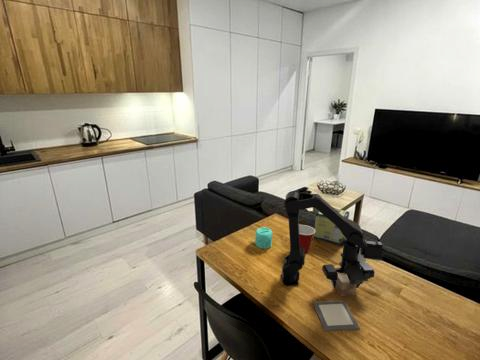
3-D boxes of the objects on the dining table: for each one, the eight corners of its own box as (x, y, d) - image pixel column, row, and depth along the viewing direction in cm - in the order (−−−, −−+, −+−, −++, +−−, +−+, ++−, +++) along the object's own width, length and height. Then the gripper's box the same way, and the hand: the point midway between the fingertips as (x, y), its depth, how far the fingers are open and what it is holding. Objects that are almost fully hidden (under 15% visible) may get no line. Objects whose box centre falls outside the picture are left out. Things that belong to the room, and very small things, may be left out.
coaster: (324, 331, 87) (324, 329, 87) (313, 303, 98) (313, 302, 98) (359, 329, 87) (359, 327, 87) (344, 301, 99) (344, 300, 99)
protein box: (318, 230, 150) (320, 205, 145) (346, 237, 142) (350, 211, 137) (313, 238, 141) (315, 212, 136) (343, 246, 134) (346, 219, 129)
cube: (341, 295, 102) (342, 284, 100) (335, 285, 107) (337, 274, 105) (354, 295, 102) (356, 283, 100) (348, 285, 107) (350, 274, 106)
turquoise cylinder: (255, 247, 133) (255, 234, 131) (257, 239, 141) (257, 226, 138) (270, 249, 132) (271, 235, 129) (272, 241, 139) (272, 228, 136)
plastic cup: (316, 247, 133) (318, 226, 129) (309, 258, 124) (311, 236, 121) (296, 241, 139) (297, 221, 135) (288, 251, 130) (289, 230, 126)
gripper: (334, 269, 91) (330, 304, 96) (386, 267, 92) (379, 302, 97) (323, 251, 102) (319, 283, 107) (369, 249, 103) (363, 281, 108)
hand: (345, 288), depth 104 cm, fingers open, 9 cm apart
